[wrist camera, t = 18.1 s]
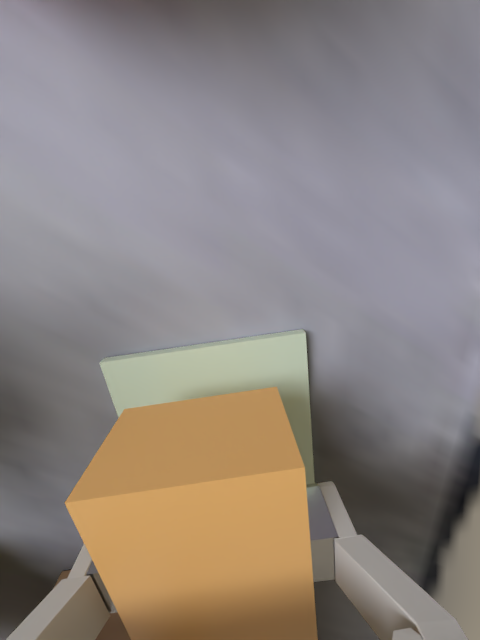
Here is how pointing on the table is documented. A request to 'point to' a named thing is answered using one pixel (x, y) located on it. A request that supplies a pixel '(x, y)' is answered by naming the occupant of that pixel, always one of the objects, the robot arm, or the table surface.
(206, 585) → the block
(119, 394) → the pad
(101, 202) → the table surface
